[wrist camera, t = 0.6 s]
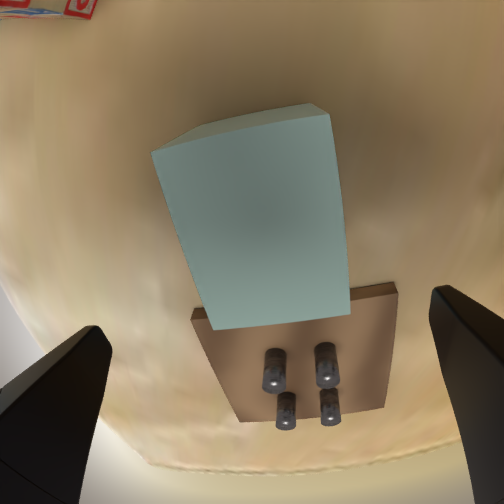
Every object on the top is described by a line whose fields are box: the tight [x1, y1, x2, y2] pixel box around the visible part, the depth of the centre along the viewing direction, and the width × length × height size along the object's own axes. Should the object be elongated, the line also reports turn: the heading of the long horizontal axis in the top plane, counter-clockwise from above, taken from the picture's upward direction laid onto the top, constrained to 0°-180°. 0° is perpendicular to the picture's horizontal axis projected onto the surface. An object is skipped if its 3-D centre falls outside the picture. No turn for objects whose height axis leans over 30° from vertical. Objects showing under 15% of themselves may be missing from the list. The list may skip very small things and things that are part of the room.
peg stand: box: [190, 282, 398, 430], centre depth 23 cm, size 14×14×4 cm
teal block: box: [150, 103, 351, 330], centre depth 14 cm, size 6×8×7 cm
